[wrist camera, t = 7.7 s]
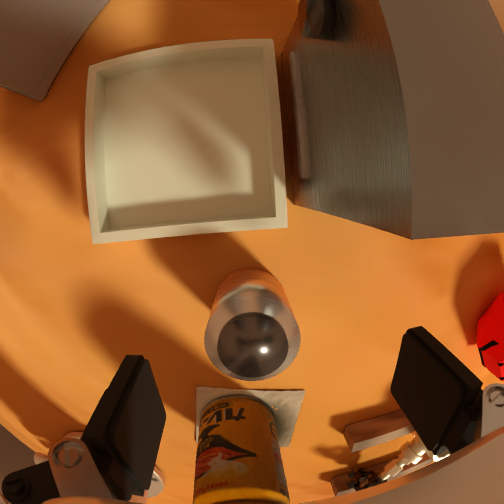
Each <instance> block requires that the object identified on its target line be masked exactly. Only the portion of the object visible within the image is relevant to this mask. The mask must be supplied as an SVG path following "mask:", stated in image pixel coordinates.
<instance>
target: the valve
mask: <svg viewBox="0 0 504 504" xmlns="http://www.w3.org/2000/svg"><path fill="white" fill-rule="evenodd" d="M412 434H413V436H414V438H413V440H411V441H410V442H408V441H407V442H406V443H404V444H403V445H402V446H401V447H400V451H401V453H400V454H399V455H398V456H399V458H398V459H397V460H396V459H394V460H392V461H391V462H390V463H389V464H387V465H386V466H385V471H383V472H382V473H380V472H375V471H372V470H370V471H366V470H365V469H364V468H361V469H360V470H358V471H357V469H356V468H353V469H351V470H350V471H349V472H347V476H348V477H349V478H350V480H348V481H347V482H346V485H347V486H348V487H349V488H351V489H352V488H353V489H355V491H360V490H363V489H366V488H370V487H373V486H376V485H379V484H382V483H385V482H387V480H386V479H387V478H388V477H389V476H392V477H393V476H395V475H396V474H397V473H399V472H400V471H401V470H402V469H403V466H404V465H405V464H406V465H408V464H409V463H413V464H417V463H418V462H419V461H420V460H421V459H422V458H423V456H422V455H423V454H424V453H425V452H426V454H427V455H428V456H429V458H430V459H431V460H432V462H435V461H439V460H441V459H443V458H445V457H447V456H449V453H450V452H449V450H448V449H447V450H446V451H445V452H443V453H441V454H439V455H437V456H434V454H433V453H432V451H429V450H427V448H426V447H425V445H424V444H423V442H422V440H421V439H420V437H419V436H418V434H417V432H416V431H414V432H412ZM356 471H357V472H356ZM355 472H356V473H355ZM370 475H372V476H371V477H370V478H369V477H368V476H370ZM359 480H361V481H363V482H365V483H363V484H362V485H360V482H359Z"/></svg>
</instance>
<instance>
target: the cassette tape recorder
mask: <svg viewBox="0 0 504 504" xmlns="http://www.w3.org/2000/svg"><path fill="white" fill-rule="evenodd" d="M109 1H110V0H0V87H3V88H6V89H9V90H11V91H14V92H17V93H19V94H22V95H25V96H27V97H30V98H32V99H35V100H38V101H40V102H42V101H43V99H44V97H45V96H46V95H47V92H48V89H49V87H50V85H51V83H52V82H53V80H54V78H55V76H56V75H57V73H58V71H59V70H60V68H61V66H62V65H63V63H64V61H65V60H66V58H67V57H68V55H69V53H70V52H71V50H72V49H73V47H74V46H75V44H76V43H77V42H78V40H79V39H80V37H81V36H82V35H83V33H84V32H85V30H86V29H87V28H88V26H89V25H90V24H91V23H92V21H93V20H94V19H95V17H96V16H97V15H98V14H99V12H100V11H101V10H102V9H103V8H104V6H105V5H106V4H107V3H108V2H109Z"/></svg>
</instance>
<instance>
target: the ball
mask: <svg viewBox="0 0 504 504" xmlns="http://www.w3.org/2000/svg"><path fill="white" fill-rule="evenodd" d="M477 347H478V349H479V353H480V357H481V361H482V365H483V366H484V367H486V368H487V369H488V370H489V371H490V372H491V373H493V374H494V375H495V376H496V377H497V378H498V379H500V380H501V381H504V291H503V292H502V293H500V294H499V295H498V296H497V297H496V299H495V300H494V301H493V303H492V304H491V305H490V307H489V308H488V309H487V310H486V312H485V313H484V314H483V315H482V317H481V318H480V319H479V320H478V322H477Z"/></svg>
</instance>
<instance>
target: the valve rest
mask: <svg viewBox="0 0 504 504" xmlns="http://www.w3.org/2000/svg"><path fill="white" fill-rule="evenodd" d="M414 431H415V429H414V428H413V426H412V425H411V423H410V421H409V420H408V418H407V417H406V415H405V414H404V412H403V411H402V409H401V410H398V411H395V412H392V413H389V414H386V415H383V416H379V417H376V418H373V419H369V420H366V421H362V422H358V423H354V424H350V425H346V427H345V431H344V437H345V439H346V442H347V444H348V446H349V448H350V451H351V453H352V452H356V451H359V450H363V449H366V448H369V447H373V446H376V445H379V444H382V443H385V442H388V441H391V440H393V439H396V438H399V437H402V436H404V435H407V434H409V433H412V432H414ZM422 456H423V458H422V459H421V460H420V461H419V462H418V463H417V464H413V463H409V464H408V465H406V464H405V465H404V466H403V469H402V470H401V471H400V472H399V473H397V474H396V475H395V476H393V477H392V476H389V477H388V478H387V479H386V480H387V481H390V480H393V479H395V478H398V477H400V476H403V475H405V474H407V473H410V472H412V471H414V470H417V469H419V468H421V467H423V466H425V465H427V464H429V463H431V462H432V460H431V459H430V458H429V456H428V455H427V454H426V452H425V453H424V454H423V455H422ZM398 458H399V457H397V458H395V459H396V460H397V459H398ZM392 460H394V459H392ZM392 460H389V461H386V462H384V463H381V464H378V465H375V466H372V467H369V468H365V470H366V471H370V470H372V471H375V472H380V473H382V472H383V471H385V466H386V465H387V464H389V463H390V462H391V461H392ZM356 472H357V471H356ZM356 472H355V473H356ZM371 476H372V475H370V476H368V477H369V478H370V477H371ZM348 480H350V478H349V477H348V476H347V474H344V475H340V476H336V477H332V480H331V485H332V488H333V491H334V494H335V497H336V496H341V495H345V494H349V493H352V492H356V491H355V489H353V488H352V489H351V488H349V487H348V486H347V485H346V482H347V481H348ZM359 482H360V485H362V484H363V483H365V482H363V481H361V480H359Z"/></svg>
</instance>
